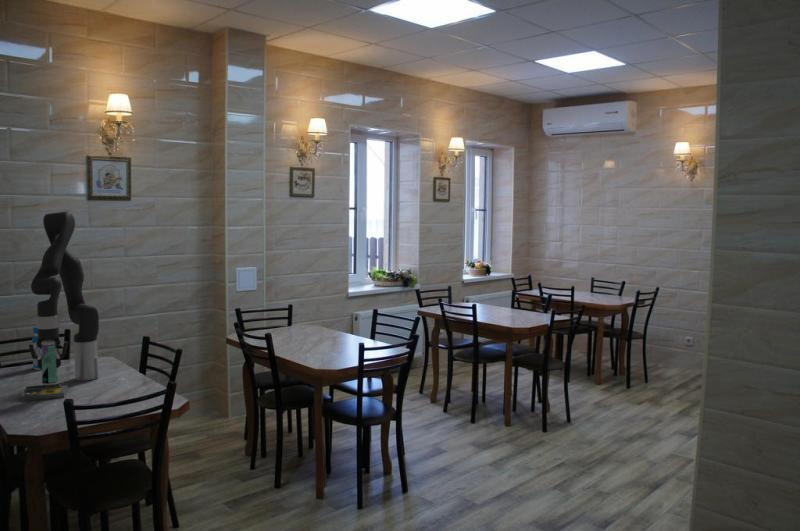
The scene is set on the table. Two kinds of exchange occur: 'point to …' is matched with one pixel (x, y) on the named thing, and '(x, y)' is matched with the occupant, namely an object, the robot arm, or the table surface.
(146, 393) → the table surface
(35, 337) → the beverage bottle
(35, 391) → the panel
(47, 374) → the spray can
